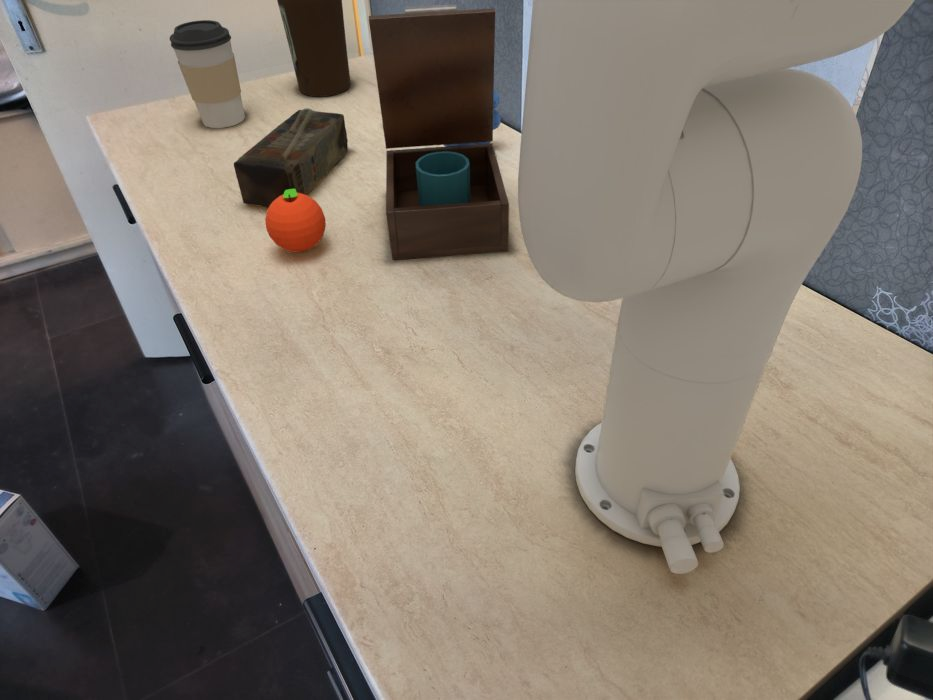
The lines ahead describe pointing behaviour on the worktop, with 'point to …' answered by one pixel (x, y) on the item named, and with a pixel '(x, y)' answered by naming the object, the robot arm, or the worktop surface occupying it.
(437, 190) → the cup
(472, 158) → the brown wooden box
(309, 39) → the olive oil
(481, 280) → the worktop surface
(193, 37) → the coffee cup
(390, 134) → the lid
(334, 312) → the worktop surface
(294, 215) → the clementine
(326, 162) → the beverage carton
